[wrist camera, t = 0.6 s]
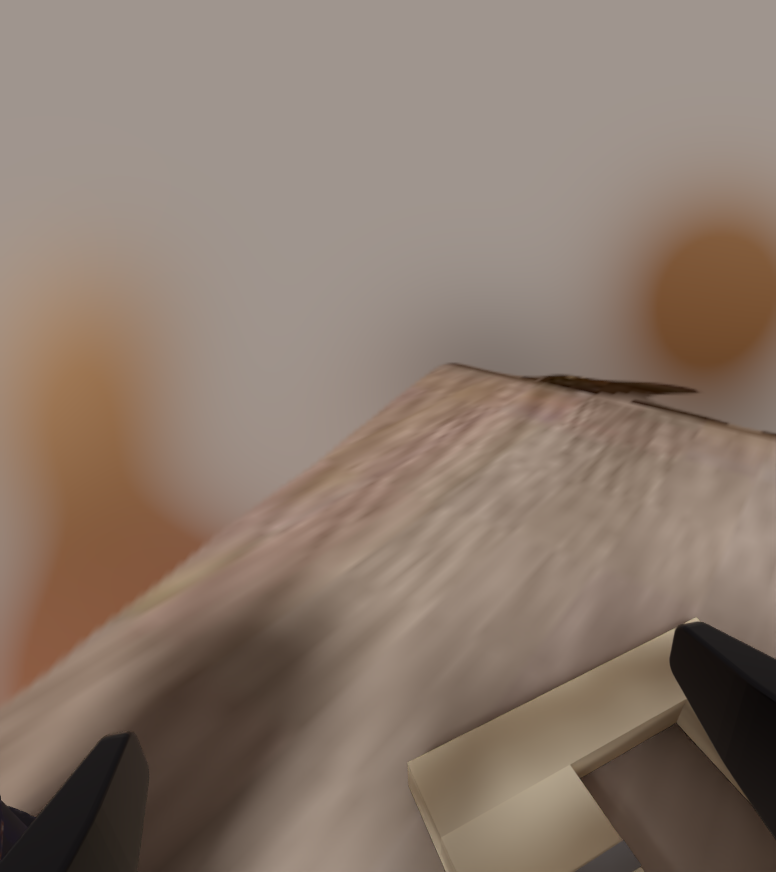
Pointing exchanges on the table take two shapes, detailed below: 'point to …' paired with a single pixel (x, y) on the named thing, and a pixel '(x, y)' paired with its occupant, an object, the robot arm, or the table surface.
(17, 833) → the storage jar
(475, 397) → the table surface
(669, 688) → the subfloor panel
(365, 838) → the table surface
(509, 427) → the table surface
